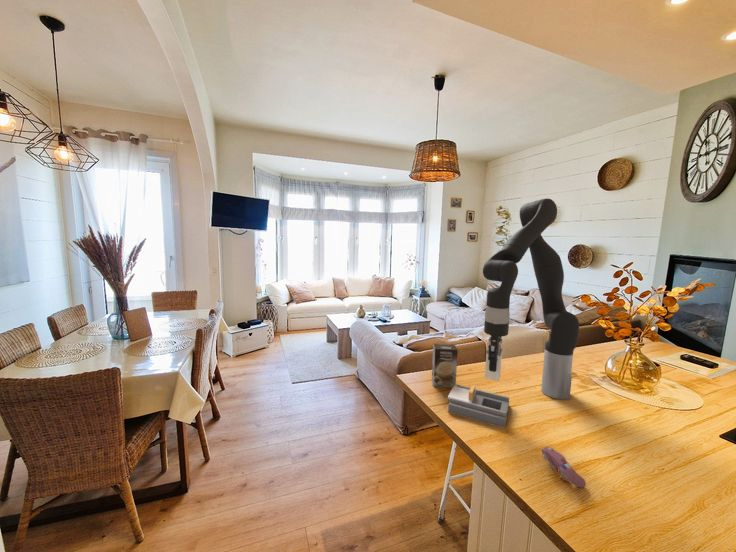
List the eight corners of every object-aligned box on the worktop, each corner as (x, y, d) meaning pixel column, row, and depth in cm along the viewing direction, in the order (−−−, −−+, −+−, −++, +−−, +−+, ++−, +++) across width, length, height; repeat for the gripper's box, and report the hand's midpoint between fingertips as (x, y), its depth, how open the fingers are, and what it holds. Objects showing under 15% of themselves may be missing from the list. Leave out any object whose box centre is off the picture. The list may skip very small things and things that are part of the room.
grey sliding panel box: (508, 405, 108) (509, 394, 107) (504, 428, 95) (505, 416, 94) (458, 392, 116) (458, 382, 116) (448, 412, 103) (448, 400, 103)
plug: (500, 376, 103) (502, 348, 101) (498, 381, 99) (501, 352, 98) (486, 373, 105) (488, 346, 104) (484, 378, 102) (486, 349, 100)
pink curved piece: (544, 465, 81) (535, 445, 80) (558, 457, 82) (549, 437, 80) (573, 496, 72) (563, 474, 71) (589, 487, 72) (580, 464, 71)
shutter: (475, 393, 110) (476, 383, 110) (471, 405, 102) (471, 394, 102) (453, 387, 114) (454, 378, 113) (447, 398, 106) (448, 388, 106)
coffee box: (433, 386, 121) (434, 348, 119) (431, 379, 127) (432, 343, 125) (456, 388, 120) (457, 349, 118) (453, 380, 126) (454, 344, 124)
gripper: (487, 313, 107) (485, 358, 110) (481, 323, 95) (478, 374, 97) (510, 316, 104) (507, 363, 106) (507, 326, 92) (503, 379, 94)
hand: (493, 368), depth 102 cm, fingers closed on plug, 4 cm apart
